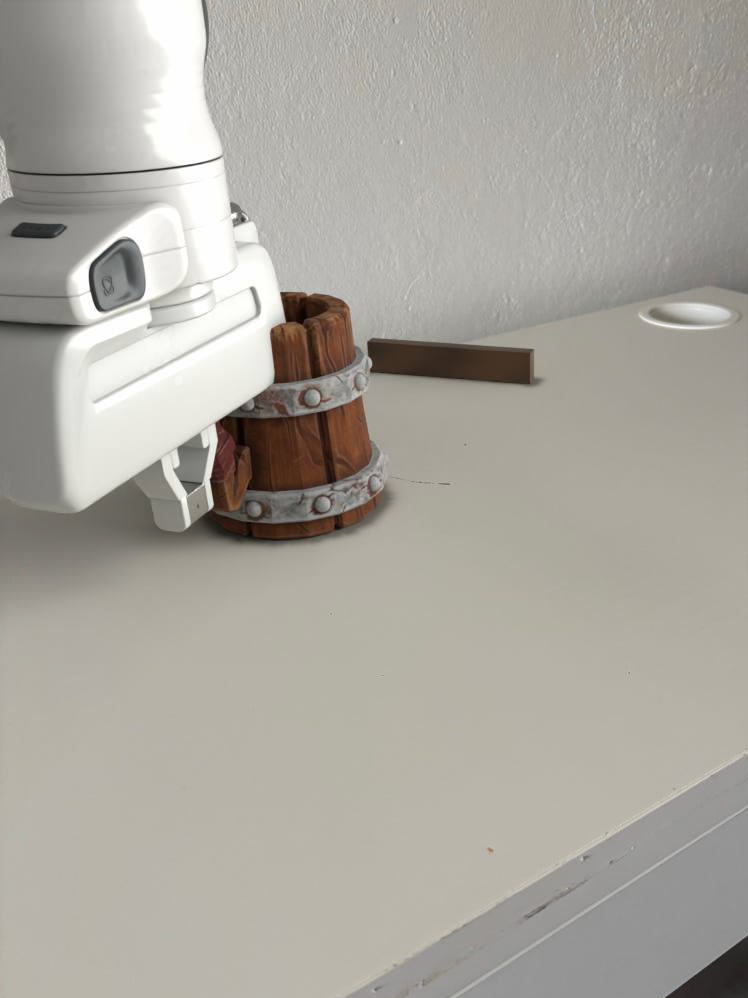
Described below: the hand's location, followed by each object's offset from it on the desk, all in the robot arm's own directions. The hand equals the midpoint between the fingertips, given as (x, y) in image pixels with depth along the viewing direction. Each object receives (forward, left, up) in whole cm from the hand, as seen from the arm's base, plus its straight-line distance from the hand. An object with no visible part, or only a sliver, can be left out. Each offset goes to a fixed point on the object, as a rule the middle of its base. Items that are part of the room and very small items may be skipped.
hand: (186, 520), depth 52 cm
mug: (0, +10, -4) cm, 11 cm away
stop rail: (+1, +38, -4) cm, 38 cm away
